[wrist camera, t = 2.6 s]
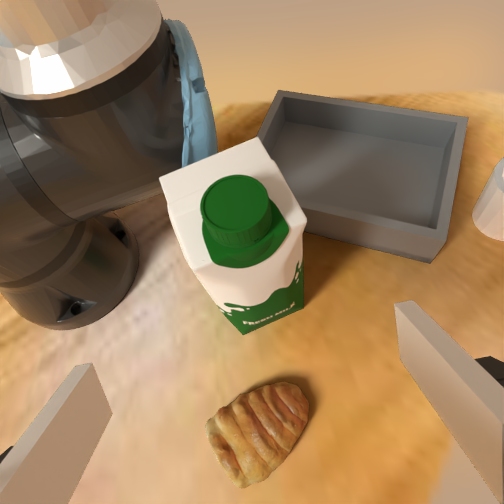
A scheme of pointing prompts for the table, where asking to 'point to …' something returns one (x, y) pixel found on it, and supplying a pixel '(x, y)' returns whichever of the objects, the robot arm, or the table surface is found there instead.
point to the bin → (368, 170)
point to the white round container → (491, 205)
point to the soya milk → (240, 233)
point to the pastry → (257, 431)
